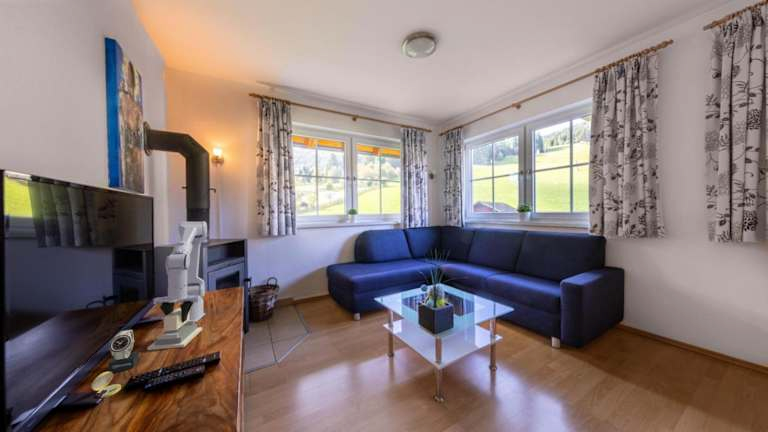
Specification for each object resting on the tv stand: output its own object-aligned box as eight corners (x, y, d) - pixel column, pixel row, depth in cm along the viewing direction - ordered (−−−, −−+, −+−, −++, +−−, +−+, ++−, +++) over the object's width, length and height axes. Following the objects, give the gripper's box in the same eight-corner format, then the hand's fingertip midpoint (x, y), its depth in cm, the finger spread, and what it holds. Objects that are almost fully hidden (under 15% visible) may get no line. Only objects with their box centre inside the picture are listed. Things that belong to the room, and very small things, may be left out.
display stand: (171, 331, 103) (171, 320, 103) (202, 329, 105) (202, 318, 105) (147, 350, 89) (147, 337, 89) (184, 346, 92) (184, 334, 92)
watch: (105, 377, 75) (105, 339, 74) (117, 362, 82) (117, 328, 82) (131, 371, 77) (131, 335, 77) (140, 358, 84) (141, 325, 84)
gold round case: (106, 398, 66) (106, 379, 66) (89, 396, 67) (89, 377, 67) (125, 387, 71) (125, 369, 70) (109, 385, 71) (109, 367, 71)
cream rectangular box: (177, 320, 101) (177, 308, 101) (189, 320, 102) (189, 307, 102) (163, 331, 92) (164, 317, 92) (176, 330, 93) (176, 316, 93)
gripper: (148, 289, 92) (147, 327, 92) (194, 287, 95) (193, 324, 95) (160, 284, 99) (159, 319, 99) (203, 282, 102) (202, 316, 102)
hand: (177, 321), depth 97 cm, fingers closed on cream rectangular box, 4 cm apart
